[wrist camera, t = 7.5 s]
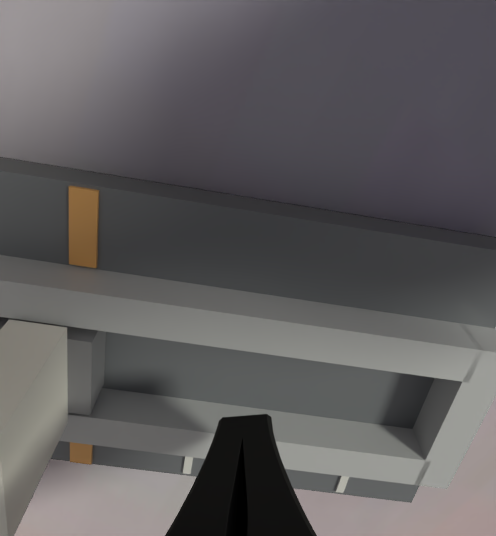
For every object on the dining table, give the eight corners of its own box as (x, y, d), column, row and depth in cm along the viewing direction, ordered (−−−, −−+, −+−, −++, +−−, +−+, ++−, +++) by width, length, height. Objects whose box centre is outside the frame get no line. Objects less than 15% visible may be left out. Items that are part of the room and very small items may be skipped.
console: (509, 239, 15) (556, 278, 13) (402, 477, 20) (422, 536, 17) (-75, 144, 14) (-142, 167, 11) (-37, 422, 19) (-78, 477, 16)
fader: (106, 303, 15) (32, 441, 10) (103, 392, 16) (38, 549, 11) (8, 289, 14) (-118, 422, 9) (14, 380, 16) (-91, 535, 11)
